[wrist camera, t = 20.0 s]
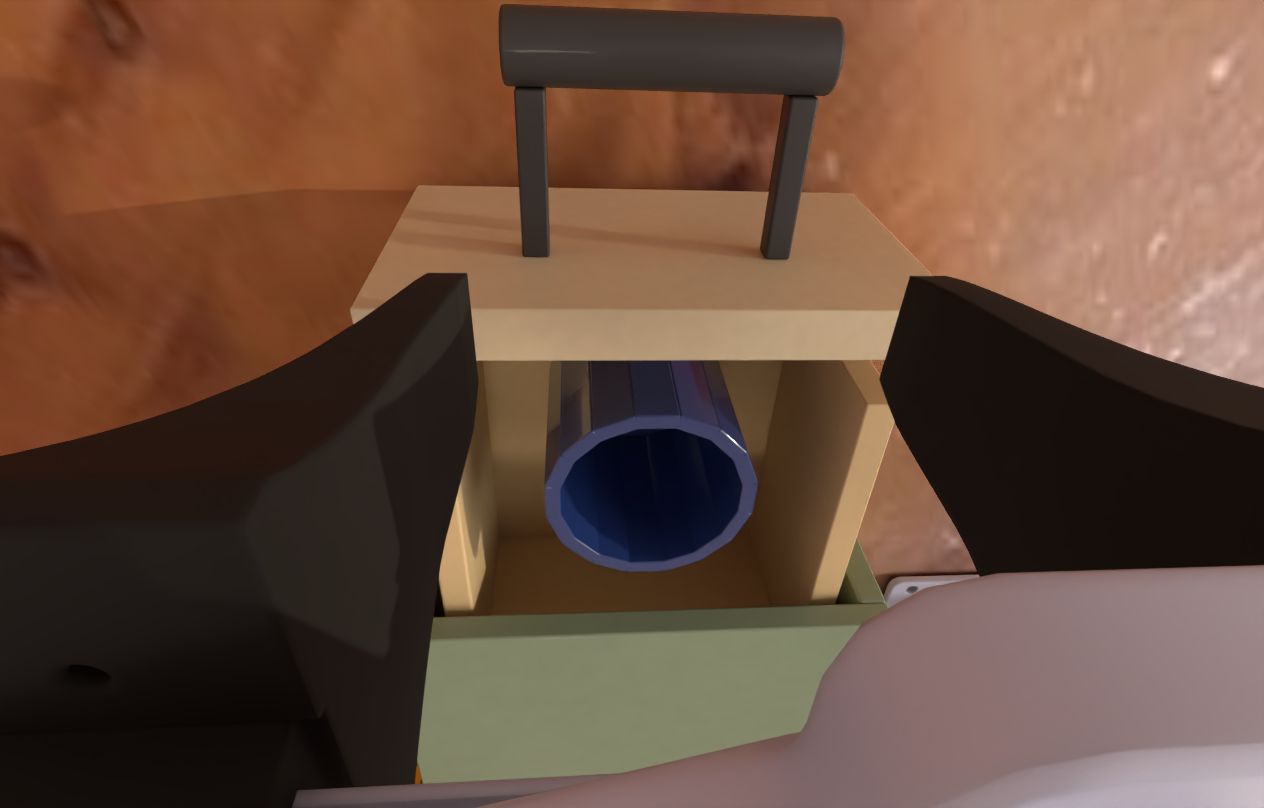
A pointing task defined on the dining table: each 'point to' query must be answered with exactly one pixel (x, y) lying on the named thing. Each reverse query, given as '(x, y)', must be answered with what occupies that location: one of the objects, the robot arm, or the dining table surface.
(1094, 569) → the robot arm
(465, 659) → the cabinet
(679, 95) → the dining table surface
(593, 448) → the cup
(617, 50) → the drawer
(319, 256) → the dining table surface
